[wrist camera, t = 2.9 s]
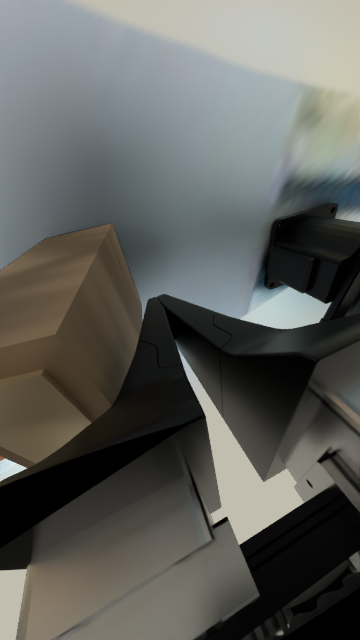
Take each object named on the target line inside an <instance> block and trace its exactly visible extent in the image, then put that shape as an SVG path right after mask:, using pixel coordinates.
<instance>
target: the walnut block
mask: <svg viewBox="0 0 360 640" xmlns="http://www.w3.org/2000/svg"><path fill="white" fill-rule="evenodd" d="M141 327H142V305H141V302H140V299H139V296H138V293H137V291H136V288H135V285H134V282H133V279H132V277H131V274H130V271H129V268H128V265H127V263H126V260H125V257H124V254H123V252H122V249H121V246H120V243H119V240H118V238H117V235H116V232H115V229H114V226H113V224H112V223H111V224H106V225H102V226H98V227H93V228H89V229H84V230H80V231H75V232H71V233H66V234H62V235H58V236H53V237H49V238H45V239H44V240H42V241H41V242H40V243H38V244H37V245H35V246H34V247H33V248H31V249H30V250H28V251H27V252H26V253H24V254H23V255H21V256H20V257H19V258H17V259H16V260H14V261H13V262H12V263H10V264H9V265H7V266H6V267H5V268H3V269H2V270H0V456H1V457H3V458H6V459H8V460H10V461H13V462H15V463H17V464H20V465H22V466H24V467H26V468H29V467H31V466H33V465H35V464H37V463H38V462H40V461H42V460H44V459H45V458H47V457H48V456H49V455H51V454H52V453H54V452H55V451H57V450H58V449H59V448H61V447H62V446H63V445H65V444H66V443H67V442H68V441H70V440H71V439H72V438H73V437H75V436H76V435H77V434H78V433H80V432H81V431H82V430H83V429H85V428H86V427H87V426H88V425H90V424H91V423H92V422H93V421H94V420H96V419H97V418H98V417H99V416H101V415H102V414H103V413H104V412H106V411H107V410H108V409H109V408H110V407H111V406H112V404H113V403H114V401H115V400H116V398H117V396H118V394H119V391H120V389H121V387H122V384H123V382H124V379H125V377H126V375H127V372H128V370H129V368H130V365H131V362H132V360H133V357H134V354H135V351H136V347H137V343H138V339H139V335H140V331H141Z"/></svg>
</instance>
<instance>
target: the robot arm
mask: <svg viewBox="0 0 360 640" xmlns="http://www.w3.org/2000/svg"><path fill="white" fill-rule="evenodd" d="M337 209H338V204H337V203H329V204H326V205H323V206H319V207H316V208H313V209H309V210H306V211H303V212H299V213H296V214H293V215H289V216H286V217H283V218H279V219H277V220H276V221H275V222H274V223H273V226H272V234H271V242H270V250H269V258H268V266H267V273H266V281H265V287H266V288H268V289H273V288H276V287H278V286H281V285H284V284H285V285H287V286H289V287H291V288H293V289H295V290H297V291H299V292H301V293H306V294H308V295H310V296H312V297H314V298H316V299H318V300H320V301H321V302H323V303H325V304H327V303H329V302H332V303H331V305H330V306H329V308H328V310H327V312H326V314H325V315H324V317H323V318H322V319H321V320H320V322H319V323H316V324H312V325H307V326H303V327H298V328H294V329H276V328H271V327H267V326H263V325H259V324H255V323H251V322H247V321H243V320H240V319H236V318H232V317H229V316H226V315H223V314H220V313H217V312H214V311H211V310H209V309H206V308H203V307H200V306H197V305H194V304H192V303H189V302H186V301H183V300H180V299H177V298H175V297H172V296H169V295H166V294H163V295H160V296H157V297H154V298H151V299H149V300H148V302H147V306H146V310H145V314H144V319H143V323H142V327H141V331H140V335H139V339H138V343H137V347H136V351H135V354H134V357H133V360H132V362H131V365H130V368H129V370H128V372H127V375H126V377H125V379H124V382H123V384H122V387H121V389H120V391H119V394H118V396H117V398H116V400H115V401H114V403H113V404H112V406H111V407H110V408H109V409H108V410H107V411H106V412H104V413H103V414H102V415H101V416H99V417H98V418H97V419H96V420H94V421H93V422H92V423H91V424H90V425H88V426H87V427H86V428H85V429H83V430H82V431H81V432H80V433H78V434H77V435H76V436H75V437H73V438H72V439H71V440H70V441H68V442H67V443H66V444H65V445H63V446H62V447H61V448H59V449H58V450H57V451H55V452H54V453H52V454H51V455H49V456H48V457H47V458H45V459H44V460H42V461H40V462H38V463H37V464H35V465H33V466H31V467H29V468H27V469H25V470H23V471H21V472H19V473H17V474H15V475H12V476H10V477H8V478H6V479H4V480H2V481H1V482H0V570H17V569H27V573H26V580H25V585H24V592H23V599H22V604H21V610H20V617H19V623H18V629H17V635H16V640H360V222H353V221H347V220H340V219H334V218H335V215H336V212H337ZM279 224H280V226H279ZM278 226H279V227H278ZM176 345H177V346H176ZM177 347H178V348H179V350H180V351H181V353H182V354H183V356H184V358H185V359H186V361H187V362H188V364H189V365H190V367H191V369H192V370H193V372H194V373H195V375H196V376H197V378H198V380H199V381H200V383H201V384H202V386H203V388H204V389H205V391H206V392H207V394H208V395H209V397H210V399H211V400H212V402H213V403H214V405H215V406H216V408H217V410H218V411H219V413H220V414H221V416H222V417H223V418H224V420H225V422H226V424H227V425H228V427H229V429H230V430H231V431H232V433H233V435H234V437H235V438H236V439H237V441H238V443H239V444H240V446H241V448H242V449H243V451H244V452H245V454H246V455H247V457H248V459H249V460H250V462H251V463H252V465H253V466H254V468H255V470H256V471H257V473H258V474H259V476H260V477H261V479H262V480H263V482H265V481H266V480H268V479H270V478H271V477H273V476H275V475H276V474H278V473H280V472H281V471H283V470H285V469H286V468H287V469H288V470H289V472H290V473H291V475H292V476H293V478H294V479H295V481H296V482H297V484H296V485H295V486H294V487H295V489H296V491H297V492H298V494H299V495H300V497H301V498H302V500H303V501H304V504H302V505H301V506H299V507H297V508H296V509H294V510H293V511H291V512H290V513H288V514H286V515H285V516H283V517H282V518H281V519H279V520H277V521H276V522H274V523H273V524H271V525H270V526H268V527H266V528H265V529H263V530H262V531H261V532H259V533H257V534H256V535H254V536H253V537H251V538H250V539H248V540H247V541H245V542H244V543H242V544H240V545H239V544H238V542H237V539H236V537H235V534H234V532H233V529H232V527H231V525H230V522H229V520H228V518H227V517H225V518H223V519H222V520H220V521H219V522H217V523H215V524H214V522H213V519H212V517H211V513H212V512H214V511H216V510H218V509H219V508H221V502H220V496H219V491H218V486H217V479H216V474H215V468H214V463H213V457H212V451H211V445H210V440H209V433H208V427H207V422H206V416H205V414H204V412H203V409H202V407H201V405H200V403H199V401H198V399H197V397H196V395H195V393H194V391H193V389H192V387H191V385H190V383H189V381H188V378H187V376H186V373H185V370H184V367H183V364H182V361H181V358H180V355H179V352H178V349H177Z"/></svg>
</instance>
